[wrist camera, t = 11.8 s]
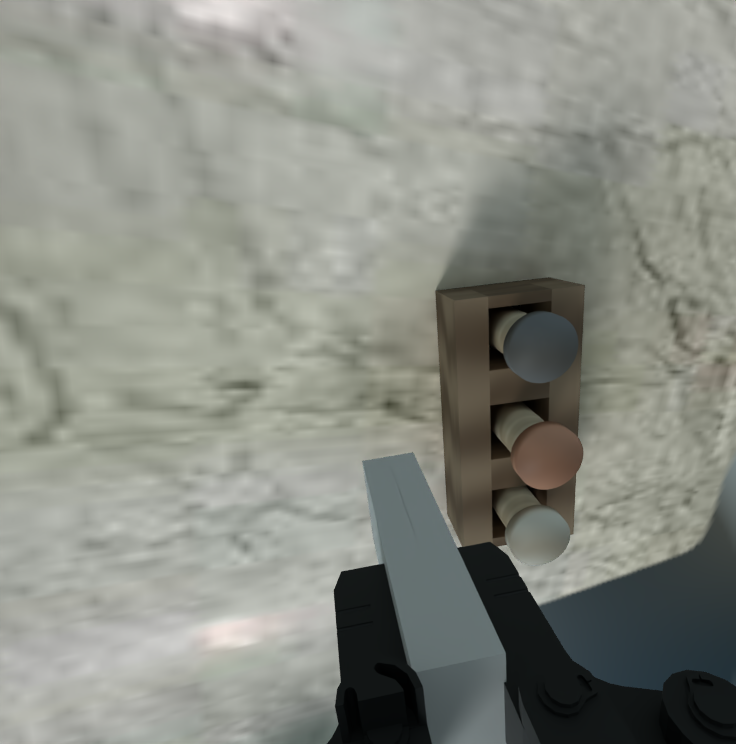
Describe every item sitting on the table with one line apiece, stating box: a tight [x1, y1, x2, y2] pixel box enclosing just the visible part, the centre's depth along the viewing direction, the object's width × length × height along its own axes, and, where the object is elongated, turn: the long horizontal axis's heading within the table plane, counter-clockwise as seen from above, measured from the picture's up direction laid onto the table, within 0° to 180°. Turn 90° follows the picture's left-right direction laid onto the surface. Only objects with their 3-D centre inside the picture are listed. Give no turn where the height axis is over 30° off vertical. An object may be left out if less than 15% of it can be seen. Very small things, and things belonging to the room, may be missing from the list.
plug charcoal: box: [488, 306, 578, 383], centre depth 32 cm, size 4×4×8 cm
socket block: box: [436, 278, 585, 547], centre depth 36 cm, size 20×9×5 cm, turn 6°
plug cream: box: [492, 485, 570, 566], centre depth 36 cm, size 4×4×8 cm
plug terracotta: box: [490, 401, 583, 490], centre depth 33 cm, size 4×4×8 cm
